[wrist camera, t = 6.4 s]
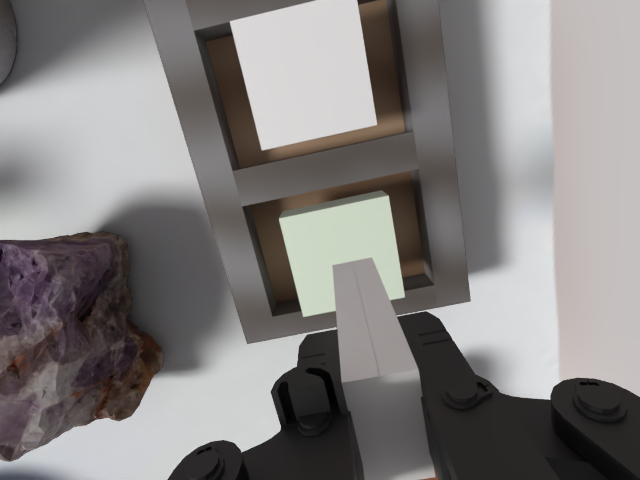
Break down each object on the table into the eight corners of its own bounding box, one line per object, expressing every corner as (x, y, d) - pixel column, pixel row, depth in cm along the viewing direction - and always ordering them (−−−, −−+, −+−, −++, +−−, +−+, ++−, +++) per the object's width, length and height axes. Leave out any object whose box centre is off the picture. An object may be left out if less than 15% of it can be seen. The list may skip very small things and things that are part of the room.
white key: (371, 126, 19) (377, 124, 17) (267, 149, 19) (261, 150, 17) (351, 7, 17) (355, -10, 15) (239, 34, 17) (229, 21, 16)
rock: (165, 229, 25) (13, 228, 25) (87, 245, 16) (-150, 244, 16) (171, 391, 27) (28, 392, 26) (102, 487, 18) (-116, 490, 17)
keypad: (450, 279, 25) (470, 301, 21) (256, 317, 26) (247, 344, 22) (386, -238, 18) (402, -329, 14) (118, -164, 18) (72, -233, 15)
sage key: (397, 282, 21) (405, 297, 19) (304, 301, 21) (303, 317, 19) (381, 190, 19) (388, 195, 18) (282, 211, 20) (278, 218, 18)
